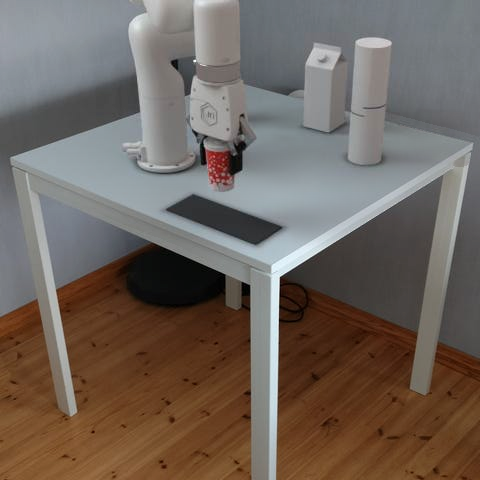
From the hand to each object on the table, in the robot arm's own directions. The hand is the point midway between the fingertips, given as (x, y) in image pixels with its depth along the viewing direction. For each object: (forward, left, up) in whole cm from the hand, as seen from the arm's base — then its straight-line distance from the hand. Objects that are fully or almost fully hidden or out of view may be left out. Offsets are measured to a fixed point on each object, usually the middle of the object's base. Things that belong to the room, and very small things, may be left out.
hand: (221, 167), depth 145 cm
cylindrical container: (+30, +27, -11) cm, 42 cm away
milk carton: (+23, +46, -11) cm, 52 cm away
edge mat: (0, 0, -11) cm, 11 cm away
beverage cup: (0, 0, -4) cm, 4 cm away
